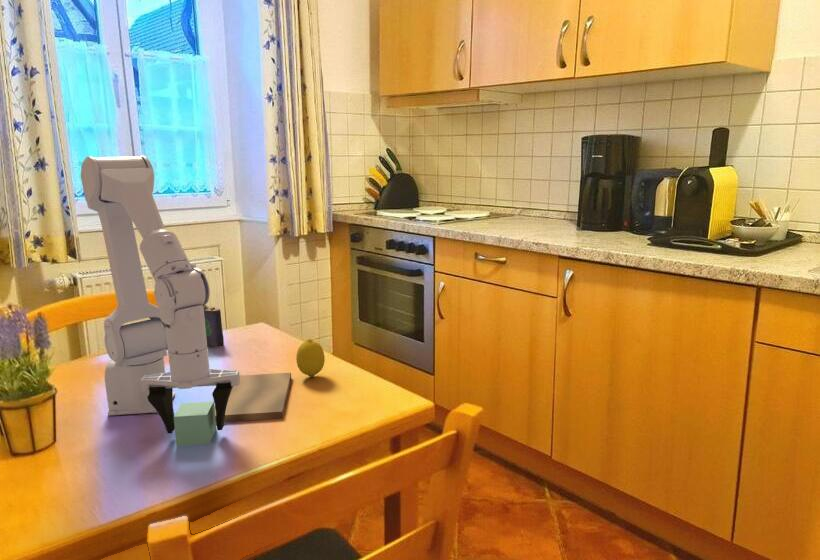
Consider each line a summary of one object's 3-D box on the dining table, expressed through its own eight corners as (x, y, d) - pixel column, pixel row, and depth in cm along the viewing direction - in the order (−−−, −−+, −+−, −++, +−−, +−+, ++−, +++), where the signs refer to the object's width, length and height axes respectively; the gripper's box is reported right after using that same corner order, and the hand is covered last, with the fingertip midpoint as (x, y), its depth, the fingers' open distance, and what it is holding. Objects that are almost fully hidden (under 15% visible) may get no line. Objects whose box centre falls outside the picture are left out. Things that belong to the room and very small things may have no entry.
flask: (183, 347, 139) (179, 302, 136) (189, 343, 142) (185, 299, 139) (221, 347, 138) (217, 303, 135) (226, 343, 141) (222, 300, 138)
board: (210, 422, 100) (209, 416, 100) (229, 381, 117) (229, 376, 117) (282, 418, 101) (282, 411, 101) (291, 378, 119) (291, 372, 118)
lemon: (319, 383, 116) (317, 344, 114) (293, 381, 117) (290, 343, 115) (329, 372, 121) (327, 335, 119) (303, 371, 122) (301, 334, 120)
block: (176, 446, 92) (173, 416, 91) (185, 431, 97) (182, 403, 96) (209, 444, 93) (206, 414, 92) (216, 429, 98) (213, 401, 97)
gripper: (129, 359, 87) (140, 444, 90) (231, 354, 88) (238, 437, 91) (145, 344, 94) (154, 423, 97) (239, 339, 95) (245, 417, 98)
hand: (196, 429), depth 95 cm, fingers open, 7 cm apart
